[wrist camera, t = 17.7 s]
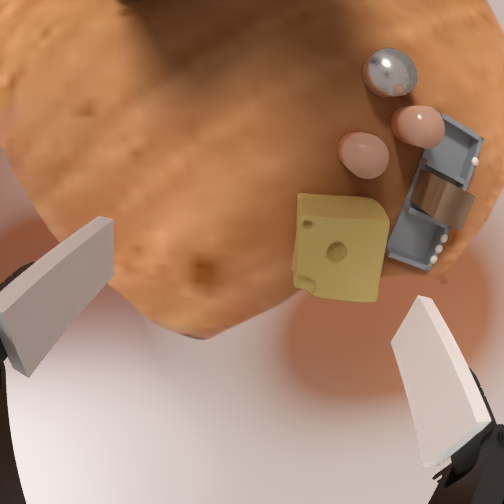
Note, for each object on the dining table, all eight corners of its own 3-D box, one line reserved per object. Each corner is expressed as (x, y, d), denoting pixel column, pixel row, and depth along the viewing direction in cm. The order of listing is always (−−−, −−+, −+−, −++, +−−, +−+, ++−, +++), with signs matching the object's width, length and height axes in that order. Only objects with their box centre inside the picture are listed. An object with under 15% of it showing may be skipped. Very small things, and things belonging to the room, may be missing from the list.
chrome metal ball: (367, 47, 29) (375, 40, 26) (409, 65, 29) (421, 60, 26) (356, 87, 32) (364, 84, 28) (399, 104, 32) (410, 103, 28)
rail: (435, 112, 31) (444, 113, 29) (476, 137, 31) (485, 139, 29) (383, 249, 40) (388, 257, 38) (424, 264, 40) (430, 272, 38)
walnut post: (409, 199, 36) (433, 218, 29) (420, 168, 34) (447, 181, 27) (434, 210, 36) (461, 230, 29) (446, 180, 34) (475, 196, 27)
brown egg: (344, 125, 34) (353, 127, 29) (380, 139, 34) (394, 144, 29) (332, 162, 36) (339, 169, 31) (367, 175, 36) (380, 185, 31)
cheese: (291, 262, 43) (290, 301, 34) (295, 186, 38) (297, 209, 29) (362, 265, 42) (378, 305, 33) (373, 192, 37) (396, 216, 28)
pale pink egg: (396, 100, 32) (414, 98, 26) (428, 116, 32) (449, 117, 26) (385, 134, 34) (401, 137, 28) (418, 149, 34) (437, 155, 28)
